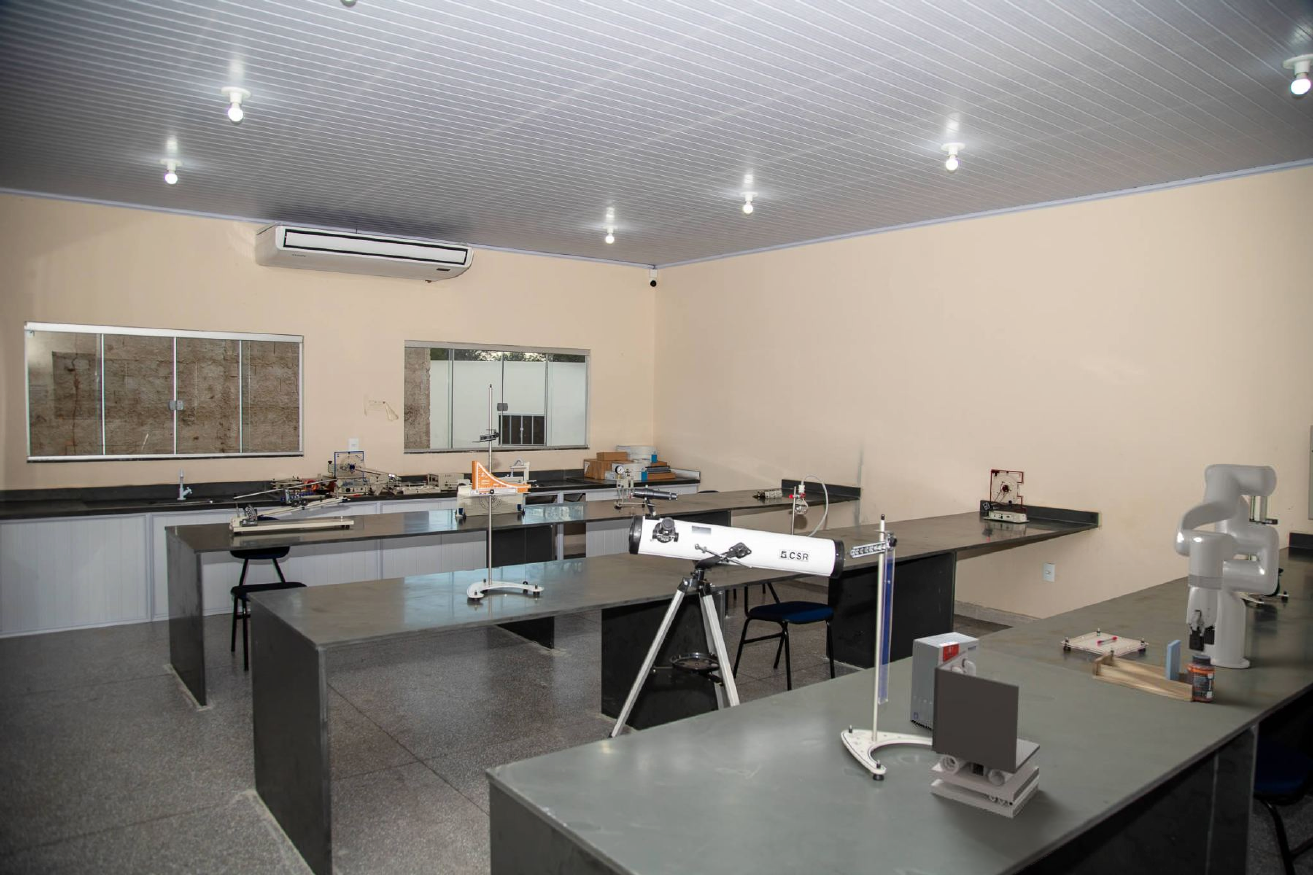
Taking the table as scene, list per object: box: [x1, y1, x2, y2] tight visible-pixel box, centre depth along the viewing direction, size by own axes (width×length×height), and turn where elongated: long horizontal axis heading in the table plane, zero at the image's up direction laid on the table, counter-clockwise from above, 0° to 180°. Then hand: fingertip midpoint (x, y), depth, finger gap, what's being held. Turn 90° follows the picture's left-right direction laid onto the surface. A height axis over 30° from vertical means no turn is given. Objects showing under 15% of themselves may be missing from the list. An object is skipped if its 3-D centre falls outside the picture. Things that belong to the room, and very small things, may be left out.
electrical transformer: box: [930, 651, 1041, 818], centre depth 168 cm, size 16×19×25 cm
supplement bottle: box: [1186, 653, 1215, 702], centre depth 221 cm, size 6×6×11 cm
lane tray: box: [1091, 651, 1194, 703], centre depth 232 cm, size 13×24×5 cm, turn 43°
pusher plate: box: [1165, 639, 1181, 682], centre depth 227 cm, size 8×1×12 cm, turn 133°
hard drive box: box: [909, 631, 980, 730], centre depth 204 cm, size 16×8×20 cm, turn 122°
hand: (1201, 646), depth 220 cm, fingers open, 9 cm apart
